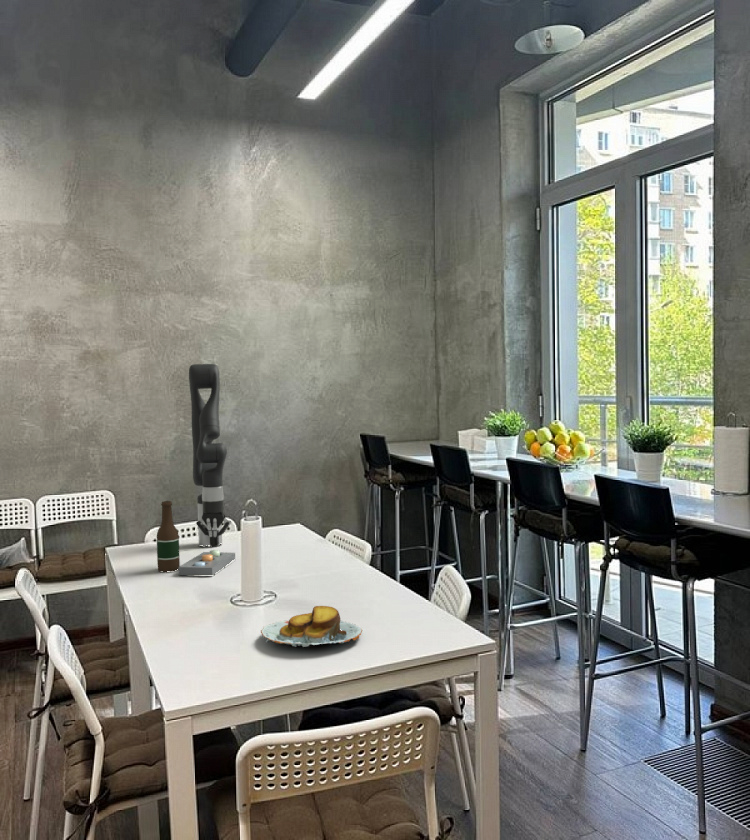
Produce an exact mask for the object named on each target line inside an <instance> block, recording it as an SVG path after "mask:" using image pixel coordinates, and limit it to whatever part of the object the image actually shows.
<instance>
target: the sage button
mask: <svg viewBox="0 0 750 840" xmlns="http://www.w3.org/2000/svg"><path fill="white" fill-rule="evenodd" d="M209 552H210V554H211V555H213V557H219V556H220V552H221V551H220V550H219V549H211V550H209Z"/></svg>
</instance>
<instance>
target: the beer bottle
mask: <svg viewBox="0 0 750 840" xmlns="http://www.w3.org/2000/svg"><path fill="white" fill-rule="evenodd" d="M160 504H161V505H160V506H161V521H160V522H161V523H160V526H159V528H158V529H157V531H156V556H157V557H156V561H157V564H156V565H157V570H158V572H159V571H163V572H162V573H165V572H166V573H168V572H167V571H174V572H176V571H175V570H177V569H178V567H179V566H181V565H180V563H181V561H180V559H181V558H180V537H179V535H180V534H179V531H178V529H177V528H176V526H175V525H174V519H173V509H172V506H173V503H172V501H170V500H165V501H162V502H161V503H160ZM177 571H178V570H177Z"/></svg>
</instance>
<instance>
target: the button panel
mask: <svg viewBox="0 0 750 840" xmlns="http://www.w3.org/2000/svg"><path fill="white" fill-rule="evenodd" d="M206 554H210V551H203V552H201V553H199V554H198V555H196V556H194V557H193V558H191V559H189V560H188V561H186V562H183V564H181V565H180V566H179V567H178V570H177V571H178V576H179V575H214V574H215V573H216V572H218V571H219V570H221V569H222V568H223V567H225V566H226V565H227V564H229V563H230V562H231V561H232V560H234V559H235V560H236V552H224V551H223V552H221V551H220V556H219V557H213V560H212V561H202V555H206ZM195 562H205V566H194V563H195ZM221 571H222V570H221ZM218 573H219V572H218ZM214 576H215V575H214Z"/></svg>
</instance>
